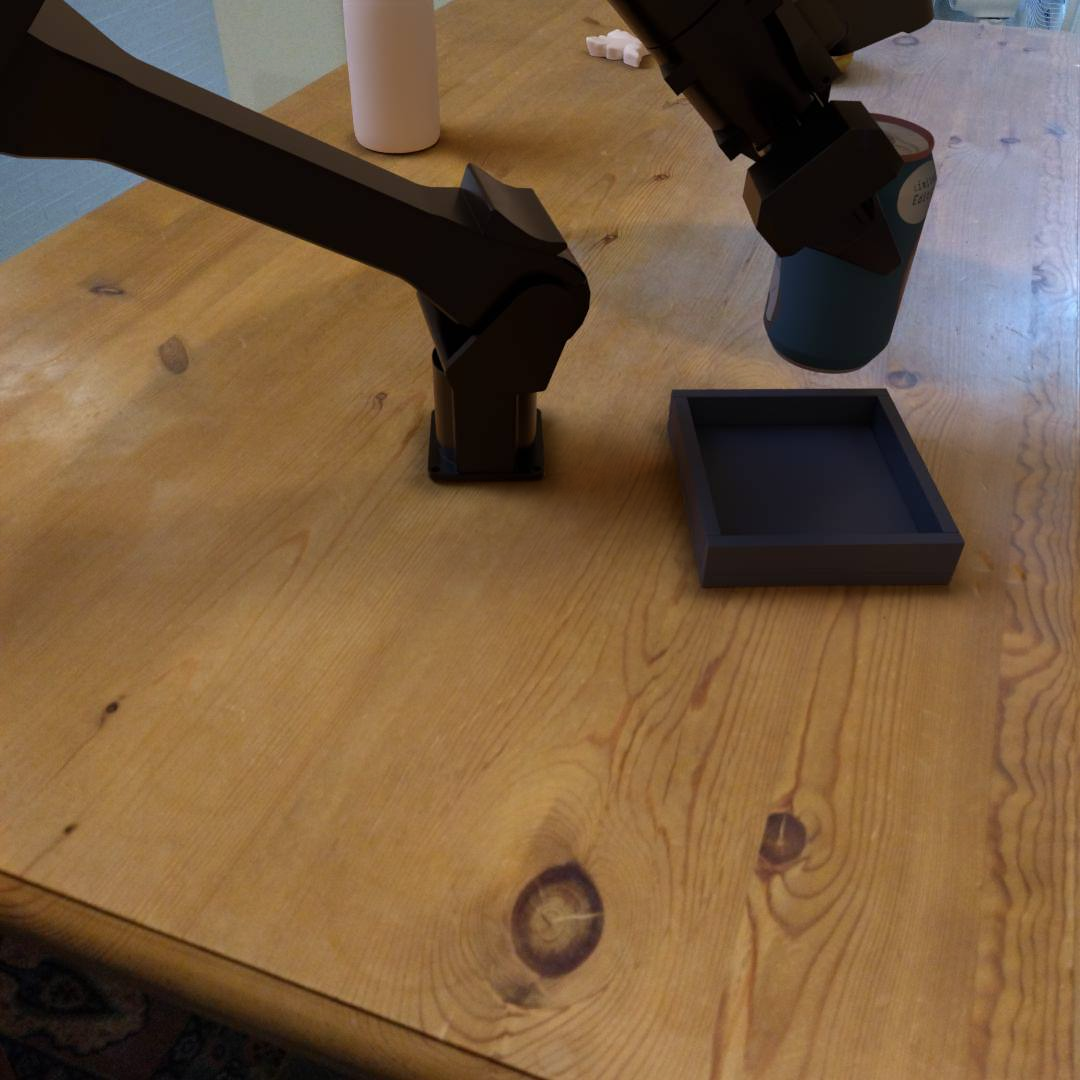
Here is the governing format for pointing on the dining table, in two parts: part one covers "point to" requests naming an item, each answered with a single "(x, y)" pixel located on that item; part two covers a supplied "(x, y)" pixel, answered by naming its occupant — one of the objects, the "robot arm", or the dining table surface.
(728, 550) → the tray
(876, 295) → the soda can
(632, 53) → the acanthus leaf ornament
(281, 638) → the dining table surface
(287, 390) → the dining table surface
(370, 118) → the milk bottle
